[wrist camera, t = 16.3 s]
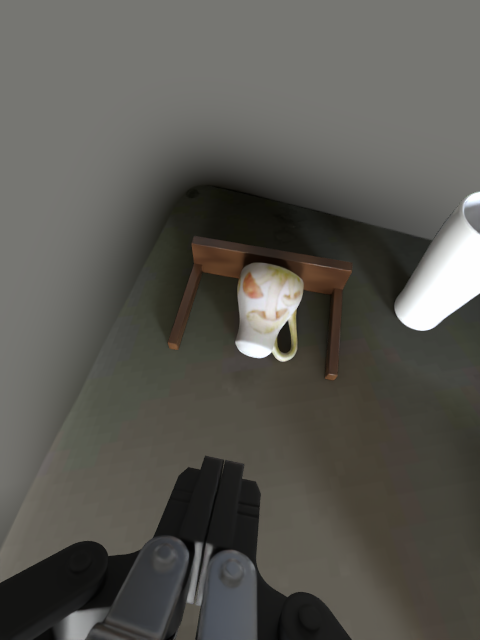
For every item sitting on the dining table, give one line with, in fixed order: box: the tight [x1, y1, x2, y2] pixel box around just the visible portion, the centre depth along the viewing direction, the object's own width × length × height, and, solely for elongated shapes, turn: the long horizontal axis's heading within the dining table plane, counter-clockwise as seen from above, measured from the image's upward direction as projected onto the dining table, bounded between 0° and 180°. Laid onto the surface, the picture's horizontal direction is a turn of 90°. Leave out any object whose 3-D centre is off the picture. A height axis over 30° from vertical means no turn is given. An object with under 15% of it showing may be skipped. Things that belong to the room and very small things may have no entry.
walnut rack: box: [168, 236, 352, 380], centre depth 38 cm, size 18×12×5 cm
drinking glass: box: [394, 191, 480, 330], centre depth 34 cm, size 7×7×15 cm
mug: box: [235, 263, 304, 362], centre depth 37 cm, size 8×10×10 cm
